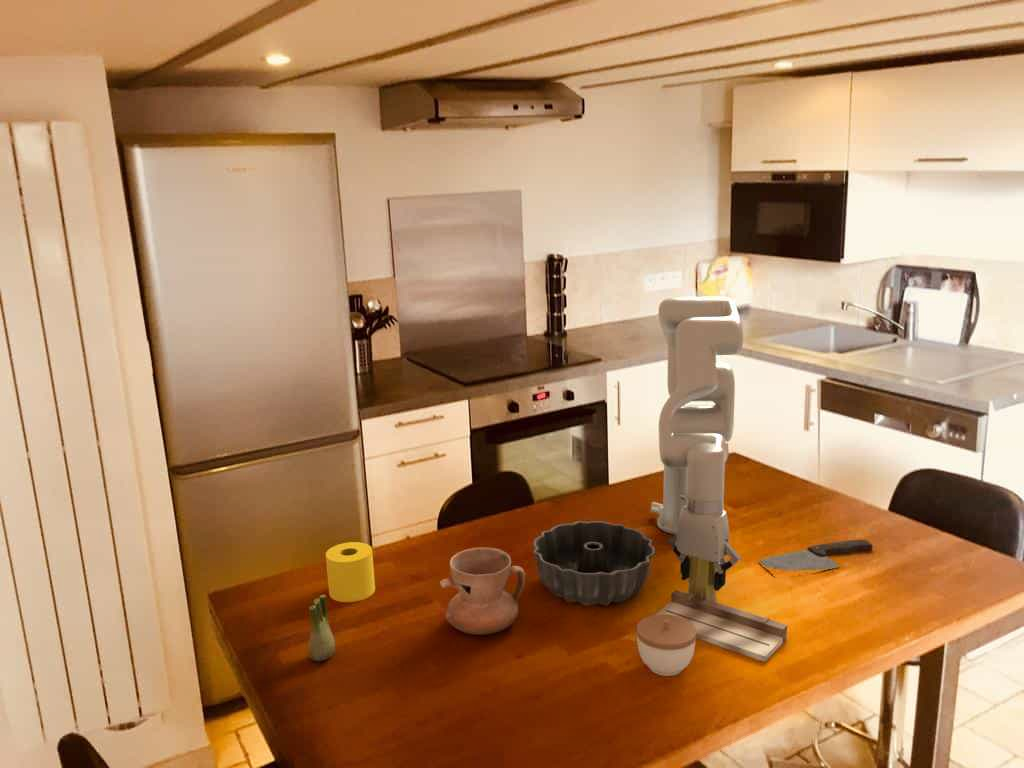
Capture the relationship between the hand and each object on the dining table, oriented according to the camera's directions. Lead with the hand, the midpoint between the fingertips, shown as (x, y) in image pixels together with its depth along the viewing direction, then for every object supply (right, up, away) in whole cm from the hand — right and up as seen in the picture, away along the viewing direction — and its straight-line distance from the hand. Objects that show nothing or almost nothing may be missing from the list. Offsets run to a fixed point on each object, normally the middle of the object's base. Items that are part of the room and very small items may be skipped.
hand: (702, 582), depth 181 cm
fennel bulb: (-76, -11, -15) cm, 79 cm away
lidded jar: (-12, -11, -22) cm, 27 cm away
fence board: (+1, -7, -11) cm, 13 cm away
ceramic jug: (-45, -7, -5) cm, 46 cm away
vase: (0, -4, +1) cm, 4 cm away
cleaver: (+31, 0, +18) cm, 36 cm away
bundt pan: (-22, -3, +9) cm, 24 cm away
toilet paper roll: (-75, -4, +10) cm, 76 cm away
